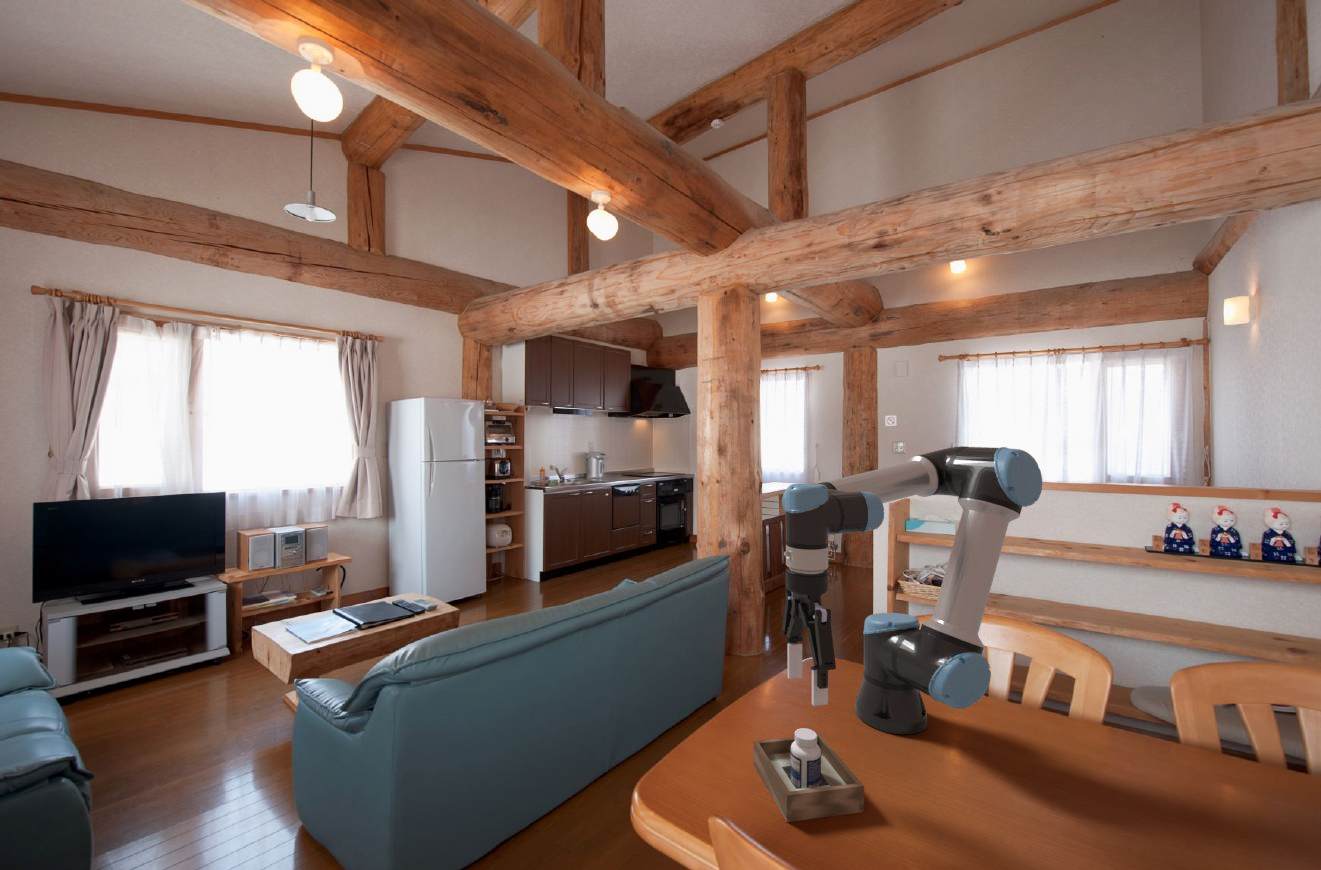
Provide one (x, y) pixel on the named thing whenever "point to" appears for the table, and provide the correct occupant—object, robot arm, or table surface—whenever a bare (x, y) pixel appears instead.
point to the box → (827, 800)
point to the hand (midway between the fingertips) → (806, 690)
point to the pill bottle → (805, 759)
